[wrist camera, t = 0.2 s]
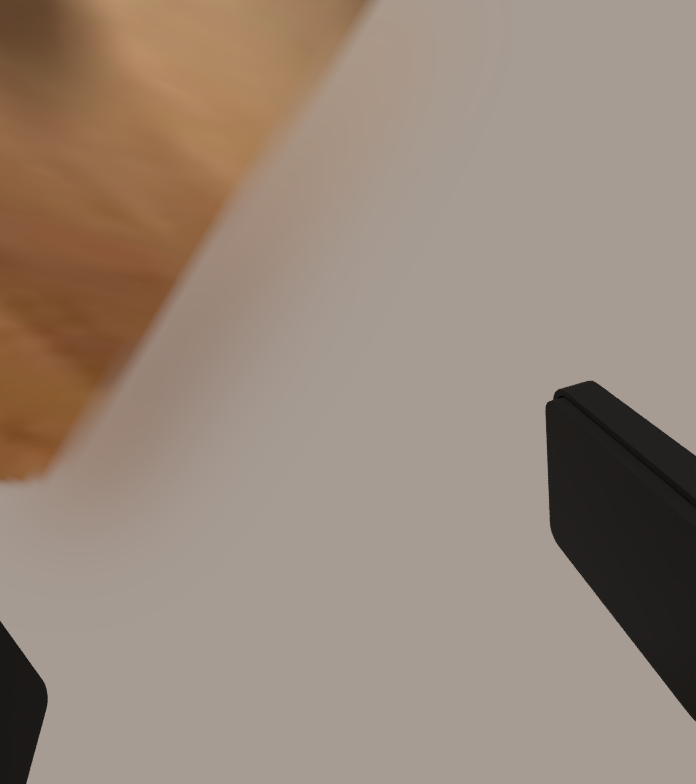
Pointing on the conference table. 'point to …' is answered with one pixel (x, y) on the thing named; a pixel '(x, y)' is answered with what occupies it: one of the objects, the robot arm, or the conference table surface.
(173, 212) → the conference table surface
